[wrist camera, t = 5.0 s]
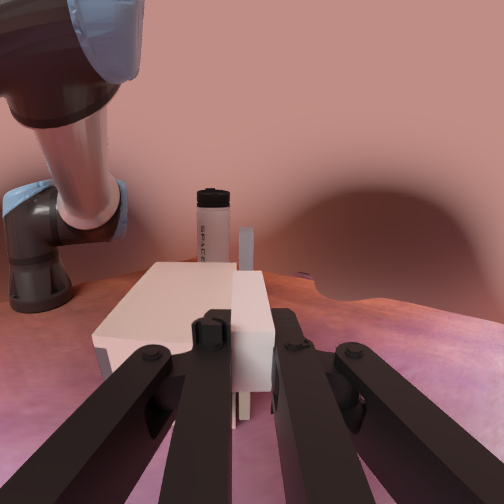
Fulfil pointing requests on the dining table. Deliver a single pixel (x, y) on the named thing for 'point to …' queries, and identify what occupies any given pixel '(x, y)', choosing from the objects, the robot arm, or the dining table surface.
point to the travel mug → (213, 225)
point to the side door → (245, 265)
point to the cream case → (164, 311)
